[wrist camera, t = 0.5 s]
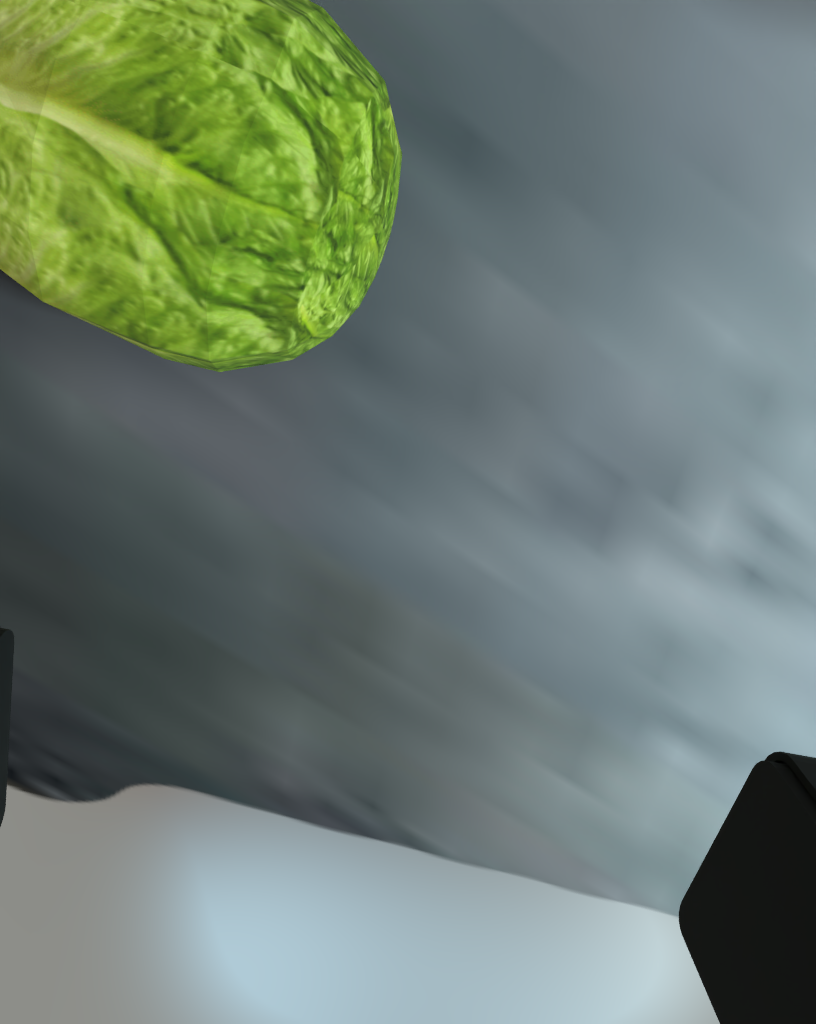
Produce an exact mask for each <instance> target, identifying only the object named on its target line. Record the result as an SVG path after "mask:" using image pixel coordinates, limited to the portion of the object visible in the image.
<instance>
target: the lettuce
mask: <svg viewBox="0 0 816 1024" xmlns="http://www.w3.org/2000/svg"><path fill="white" fill-rule="evenodd" d="M401 159H402V152H401V148H400V145H399V141H398V137H397V132H396V128H395V124H394V119H393V115H392V110H391V106H390V102H389V97H388V93H387V89H386V84H385V81H384V79H383V78H382V77H381V76H380V75H379V73H378V72H377V71H376V70H375V69H374V68H373V66H372V65H371V64H370V63H369V62H368V60H367V59H366V58H365V57H364V56H363V55H362V53H361V52H360V51H359V50H358V49H357V47H356V46H355V45H354V44H353V43H352V42H351V40H350V39H349V38H348V37H347V36H346V34H345V33H344V32H343V31H342V30H341V28H340V27H339V26H338V25H337V24H336V23H335V21H334V20H333V19H332V18H331V17H330V15H329V14H328V13H327V12H326V11H325V10H324V8H322V7H320V6H318V5H316V4H314V3H313V2H311V1H309V0H0V269H1V270H2V271H3V272H5V273H6V274H7V275H9V276H10V277H11V278H13V279H14V280H15V281H17V282H18V283H19V284H21V285H22V286H23V287H24V288H26V289H27V290H28V291H30V292H31V293H32V294H34V295H35V296H36V297H38V298H39V299H40V300H42V301H43V302H45V303H47V304H49V305H51V306H53V307H56V308H58V309H60V310H62V311H64V312H66V313H69V314H71V315H73V316H75V317H77V318H79V319H81V320H84V321H86V322H88V323H90V324H92V325H94V326H97V327H99V328H101V329H103V330H105V331H107V332H109V333H112V334H114V335H116V336H118V337H120V338H122V339H124V340H126V341H129V342H131V343H133V344H135V345H137V346H139V347H141V348H143V349H145V350H147V351H150V352H152V353H154V354H156V355H158V356H160V357H162V358H164V359H168V360H172V361H176V362H180V363H184V364H189V365H193V366H197V367H201V368H205V369H209V370H214V371H218V372H222V371H228V370H234V369H240V368H246V367H252V366H258V365H264V364H270V363H275V362H281V361H287V360H293V359H294V358H296V357H298V356H299V355H301V354H303V353H304V352H306V351H308V350H309V349H311V348H313V347H314V346H316V345H318V344H319V343H321V342H323V341H324V340H326V339H328V338H329V337H331V336H332V335H333V334H334V333H335V332H336V331H337V330H338V329H339V328H340V327H341V326H342V325H343V324H344V322H345V321H346V320H347V319H348V318H349V317H350V316H351V315H352V314H353V312H354V311H355V310H356V309H357V308H358V307H359V306H360V304H361V302H362V300H363V298H364V296H365V294H366V293H367V291H368V289H369V287H370V285H371V283H372V281H373V280H374V278H375V275H376V273H377V270H378V268H379V265H380V263H381V260H382V258H383V255H384V252H385V248H386V245H387V242H388V239H389V237H390V233H391V228H392V224H393V219H394V214H395V209H396V204H397V198H398V189H399V179H400V169H401Z"/></svg>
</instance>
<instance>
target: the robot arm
mask: <svg viewBox="0 0 816 1024" xmlns="http://www.w3.org/2000/svg"><path fill="white" fill-rule="evenodd" d="M13 654H14V635H13V632H12V631H11V630H9V629H3V628H0V826H1V823H2V820H3V816H4V812H5V805H6V787H7V768H8V749H9V730H10V711H11V692H12V673H13ZM679 924H680V929H681V933H682V935H683V937H684V940H685V942H686V945H687V947H688V950H689V952H690V954H691V957H692V959H693V961H694V964H695V966H696V968H697V971H698V973H699V976H700V978H701V980H702V983H703V985H704V987H705V989H706V992H707V994H708V996H709V999H710V1001H711V1004H712V1006H713V1008H714V1010H715V1013H716V1015H717V1017H718V1020H719V1022H720V1024H816V758H813V757H807V756H802V755H796V754H790V753H785V752H774V753H772V754H771V755H769V756H768V757H767V758H766V759H765V761H760V762H758V763H757V764H756V765H755V766H754V768H753V769H752V771H751V773H750V775H749V777H748V778H747V780H746V782H745V784H744V786H743V788H742V790H741V792H740V793H739V795H738V797H737V799H736V801H735V803H734V805H733V806H732V808H731V810H730V812H729V814H728V816H727V818H726V820H725V821H724V823H723V825H722V827H721V829H720V831H719V833H718V835H717V836H716V838H715V840H714V842H713V844H712V846H711V848H710V849H709V851H708V853H707V855H706V857H705V859H704V861H703V863H702V864H701V866H700V868H699V870H698V872H697V874H696V876H695V877H694V879H693V881H692V883H691V885H690V887H689V889H688V891H687V892H686V894H685V896H684V898H683V900H682V902H681V905H680V910H679Z"/></svg>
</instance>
